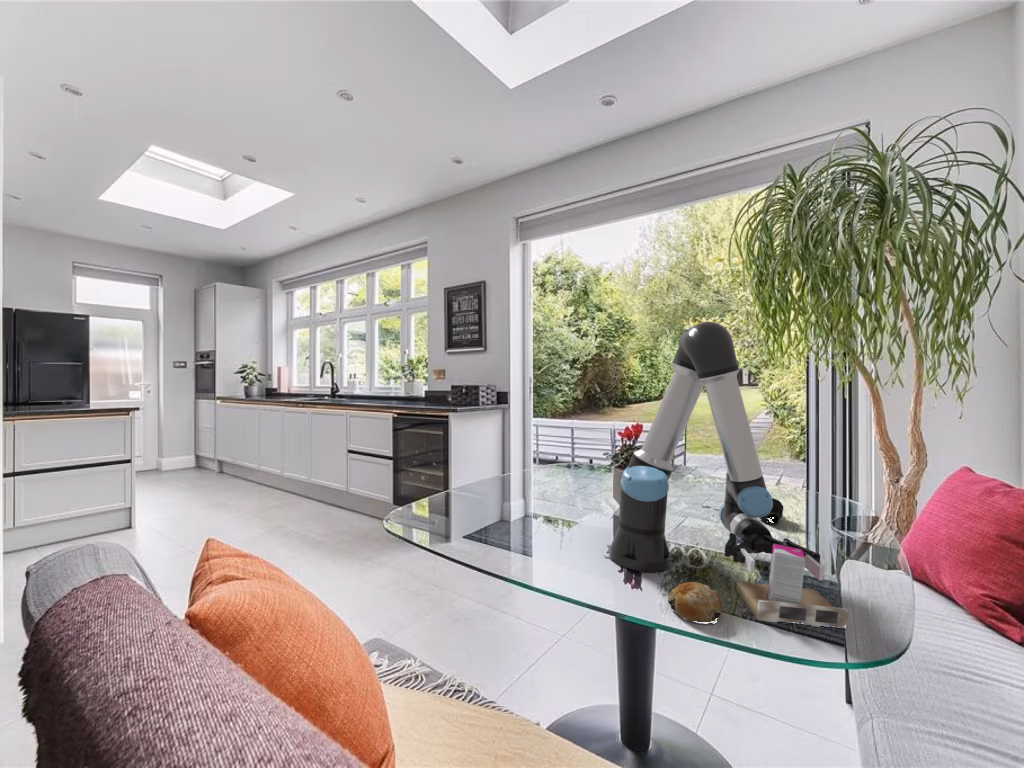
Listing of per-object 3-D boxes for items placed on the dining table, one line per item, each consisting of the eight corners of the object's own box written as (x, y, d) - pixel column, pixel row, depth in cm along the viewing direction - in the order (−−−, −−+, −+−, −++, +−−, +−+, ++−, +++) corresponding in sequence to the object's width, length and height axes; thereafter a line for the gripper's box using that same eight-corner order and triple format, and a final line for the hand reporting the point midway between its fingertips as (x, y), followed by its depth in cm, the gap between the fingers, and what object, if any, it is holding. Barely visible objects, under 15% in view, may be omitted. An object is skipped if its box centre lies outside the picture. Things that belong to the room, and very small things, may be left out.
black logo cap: (754, 511, 157) (743, 480, 173) (763, 538, 159) (751, 505, 176) (785, 505, 153) (770, 474, 170) (794, 532, 156) (778, 500, 172)
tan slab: (758, 621, 99) (760, 602, 98) (736, 590, 111) (737, 573, 111) (847, 630, 97) (848, 611, 96) (813, 597, 110) (815, 580, 109)
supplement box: (800, 612, 99) (805, 558, 98) (768, 604, 101) (773, 551, 101) (797, 599, 104) (802, 548, 103) (766, 592, 107) (771, 542, 106)
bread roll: (699, 645, 95) (719, 617, 93) (656, 606, 101) (674, 578, 98) (716, 626, 103) (735, 599, 100) (675, 590, 109) (693, 564, 106)
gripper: (801, 552, 121) (849, 594, 100) (698, 542, 124) (723, 581, 103) (804, 523, 120) (852, 559, 99) (700, 514, 123) (725, 547, 102)
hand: (786, 570), depth 101 cm, fingers open, 13 cm apart
